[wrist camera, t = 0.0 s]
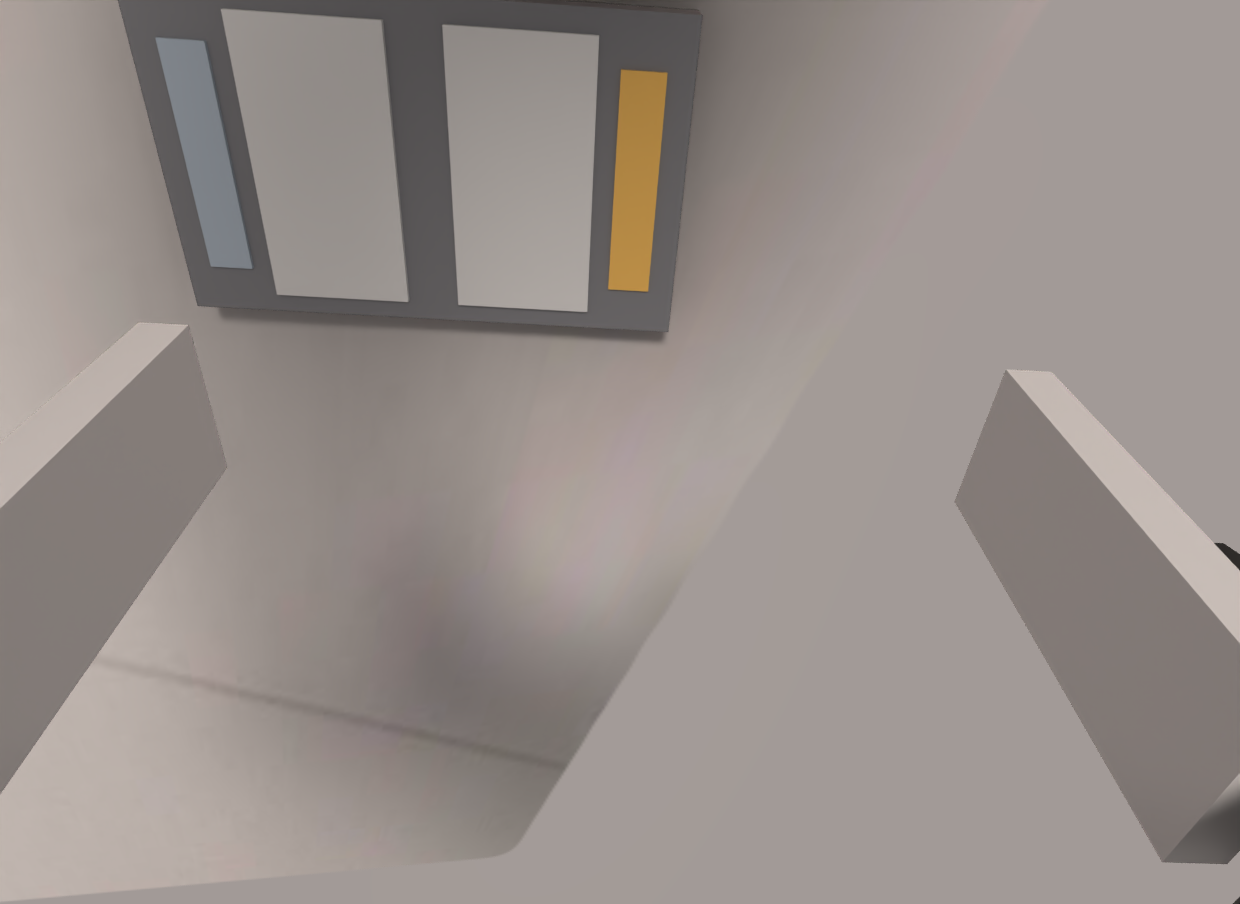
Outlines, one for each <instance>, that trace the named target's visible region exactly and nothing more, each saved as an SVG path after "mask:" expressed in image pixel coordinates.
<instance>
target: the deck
mask: <svg viewBox="0 0 1240 904" xmlns="http://www.w3.org/2000/svg"><path fill="white" fill-rule="evenodd" d="M118 2H119V6H120V10H121V14H122V18H123V21H124V25H125V29H126V33H127V37H128V41H129V44H130V48H131V52H132V56H133V60H134V64H135V67H136V71H137V75H138V79H139V83H140V87H141V90H142V94H143V98H144V102H145V106H146V110H147V113H148V117H149V121H150V125H151V129H152V133H153V136H154V140H155V144H156V148H157V152H158V156H159V159H160V163H161V167H162V171H163V175H164V179H165V182H166V186H167V190H168V194H169V198H170V202H171V205H172V209H173V213H174V217H175V221H176V225H177V228H178V232H179V236H180V240H181V244H182V248H183V251H184V255H185V259H186V263H187V267H188V271H189V274H190V278H191V282H192V286H193V290H194V294H195V297H196V301H197V305H198V306H208V307H226V308H244V309H262V310H280V311H298V312H316V313H334V314H352V315H370V316H388V317H406V318H424V319H442V320H461V321H479V322H497V323H515V324H533V325H551V326H569V327H587V328H605V329H623V330H641V331H659V332H668V329H669V320H670V311H671V302H672V293H673V283H674V274H675V265H676V256H677V247H678V237H679V228H680V219H681V210H682V200H683V191H684V182H685V173H686V164H687V154H688V145H689V136H690V127H691V117H692V108H693V99H694V90H695V81H696V71H697V62H698V53H699V44H700V34H701V25H702V16H703V15H702V14H701V13H700V11H699V10H690V9H677V8H663V7H649V6H635V5H621V4H608V3H594V2H580V1H566V0H118Z"/></svg>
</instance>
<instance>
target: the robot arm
mask: <svg viewBox="0 0 1240 904" xmlns="http://www.w3.org/2000/svg"><path fill="white" fill-rule="evenodd" d="M226 468H227V464H226V461H225V457H224V453H223V450H222V446H221V442H220V439H219V435H218V431H217V428H216V424H215V420H214V417H213V413H212V409H211V405H210V402H209V398H208V394H207V391H206V387H205V383H204V380H203V376H202V372H201V369H200V365H199V361H198V358H197V354H196V350H195V347H194V343H193V339H192V336H191V332H190V328H189V325H179V324H160V323H142V322H138V323H137V324H136V325H135V326H134V327H133V328H132V329H130V330H129V331H128V332H127V333H126V334H125V335H123V336H122V337H121V338H120V339H119V340H118V341H117V342H115V343H114V344H113V345H112V346H111V347H110V348H108V349H107V350H106V351H105V352H104V353H103V354H102V355H100V356H99V357H98V358H97V359H96V360H95V361H93V362H92V363H91V364H90V365H89V366H88V367H87V368H85V369H84V370H83V371H82V372H81V373H80V374H78V375H77V376H76V377H75V378H74V379H73V380H72V381H70V382H69V383H68V384H67V385H66V386H65V387H63V388H62V389H61V390H60V391H59V392H58V393H57V394H55V395H54V396H53V397H52V398H51V399H50V400H48V401H47V402H46V403H45V404H44V405H43V406H42V407H40V408H39V409H38V410H37V411H36V412H35V413H33V414H32V415H31V416H30V417H29V418H28V419H26V420H25V421H24V422H23V423H22V424H21V425H20V426H18V427H17V428H16V429H15V430H14V431H13V432H11V433H10V434H9V435H8V436H7V437H6V438H5V439H3V440H2V441H1V442H0V794H1V792H2V791H3V790H4V788H5V787H6V785H7V784H8V782H9V781H10V779H11V778H12V777H13V775H14V774H15V772H16V771H17V769H18V768H19V766H20V765H21V764H22V762H23V761H24V759H25V758H26V756H27V755H28V754H29V752H30V751H31V749H32V748H33V746H34V745H35V743H36V742H37V741H38V739H39V738H40V736H41V735H42V733H43V732H44V730H45V729H46V728H47V726H48V725H49V723H50V722H51V720H52V719H53V718H54V716H55V715H56V713H57V712H58V710H59V709H60V707H61V706H62V705H63V703H64V702H65V700H66V699H67V697H68V696H69V695H70V693H71V692H72V690H73V689H74V687H75V686H76V684H77V683H78V682H79V680H80V679H81V677H82V676H83V674H84V673H85V671H86V670H87V669H88V667H89V666H90V664H91V663H92V661H93V660H94V659H95V657H96V656H97V654H98V653H99V651H100V650H101V648H102V647H103V646H104V644H105V643H106V641H107V640H108V638H109V637H110V635H111V634H112V633H113V631H114V630H115V628H116V627H117V625H118V624H119V623H120V621H121V620H122V618H123V617H124V615H125V614H126V612H127V611H128V610H129V608H130V607H131V605H132V604H133V602H134V601H135V599H136V598H137V597H138V595H139V594H140V592H141V591H142V589H143V588H144V587H145V585H146V584H147V582H148V581H149V579H150V578H151V576H152V575H153V574H154V572H155V571H156V569H157V568H158V566H159V565H160V563H161V562H162V561H163V559H164V558H165V556H166V555H167V553H168V552H169V551H170V549H171V548H172V546H173V545H174V543H175V542H176V540H177V539H178V538H179V536H180V535H181V533H182V532H183V530H184V529H185V528H186V526H187V525H188V523H189V522H190V520H191V519H192V517H193V516H194V515H195V513H196V512H197V510H198V509H199V507H200V506H201V504H202V503H203V502H204V500H205V499H206V497H207V496H208V494H209V493H210V492H211V490H212V489H213V487H214V486H215V484H216V483H217V481H218V480H219V479H220V477H221V476H222V474H223V473H224V471H225V470H226ZM955 503H956V505H957V507H958V508H959V510H960V512H961V514H962V515H963V517H964V519H965V521H966V522H967V524H968V526H969V527H970V529H971V531H972V533H973V535H974V536H975V538H976V540H977V541H978V543H979V545H980V547H981V548H982V550H983V552H984V554H985V555H986V557H987V559H988V560H989V562H990V564H991V566H992V568H993V569H994V571H995V573H996V575H997V576H998V578H999V580H1000V581H1001V583H1002V585H1003V587H1004V588H1005V590H1006V592H1007V593H1008V595H1009V597H1010V598H1011V600H1012V602H1013V604H1014V606H1015V607H1016V609H1017V611H1018V613H1019V614H1020V616H1021V618H1022V620H1023V621H1024V623H1025V625H1026V626H1027V628H1028V630H1029V632H1030V633H1031V635H1032V637H1033V639H1034V640H1035V642H1036V644H1037V646H1038V647H1039V649H1040V651H1041V653H1042V654H1043V656H1044V658H1045V659H1046V661H1047V663H1048V665H1049V666H1050V668H1051V670H1052V672H1053V673H1054V675H1055V677H1056V679H1057V680H1058V682H1059V684H1060V685H1061V687H1062V689H1063V691H1064V693H1065V694H1066V696H1067V698H1068V699H1069V701H1070V703H1071V705H1072V706H1073V708H1074V710H1075V712H1076V713H1077V715H1078V717H1079V719H1080V720H1081V722H1082V724H1083V725H1084V727H1085V729H1086V731H1087V732H1088V734H1089V736H1090V738H1091V739H1092V741H1093V743H1094V745H1095V746H1096V748H1097V750H1098V752H1099V753H1100V755H1101V757H1102V759H1103V760H1104V762H1105V764H1106V765H1107V767H1108V769H1109V771H1110V772H1111V774H1112V776H1113V777H1114V779H1115V781H1116V783H1117V785H1118V786H1119V788H1120V790H1121V791H1122V793H1123V795H1124V797H1125V798H1126V800H1127V802H1128V804H1129V805H1130V807H1131V809H1132V810H1133V812H1134V814H1135V816H1136V818H1137V819H1138V821H1139V823H1140V824H1141V826H1142V828H1143V830H1144V831H1145V833H1146V835H1147V837H1148V838H1149V840H1150V842H1151V843H1152V845H1153V847H1154V849H1155V850H1156V852H1157V854H1158V856H1159V857H1160V859H1161V861H1162V862H1174V863H1210V864H1228V862H1229V861H1230V860H1231V859H1232V858H1233V857H1234V856H1235V855H1236V854H1237V853H1238V852H1239V851H1240V554H1238V553H1237V552H1236V551H1234V550H1233V549H1231V548H1230V547H1228V546H1227V545H1225V544H1223V543H1213V542H1212V541H1211V540H1210V539H1209V538H1208V537H1207V536H1206V535H1205V533H1204V532H1203V531H1202V530H1201V529H1200V528H1199V527H1198V526H1197V525H1196V524H1195V523H1194V522H1193V521H1192V520H1191V519H1190V518H1189V517H1188V516H1187V514H1186V513H1185V512H1184V511H1183V510H1182V509H1181V508H1180V507H1179V506H1178V505H1177V504H1176V503H1175V502H1174V501H1173V500H1172V499H1171V498H1170V496H1169V495H1168V494H1167V493H1166V492H1165V491H1164V490H1163V489H1162V488H1161V487H1160V486H1159V485H1158V484H1157V483H1156V482H1155V481H1154V480H1153V479H1152V477H1150V475H1148V473H1147V472H1146V471H1145V470H1144V469H1143V468H1142V467H1141V466H1140V465H1139V464H1138V463H1137V462H1136V461H1135V460H1134V458H1133V457H1132V456H1131V455H1130V454H1129V453H1128V452H1127V451H1126V450H1125V449H1124V448H1123V447H1122V446H1121V445H1120V444H1119V443H1118V442H1117V441H1116V440H1115V439H1114V437H1113V436H1112V435H1111V434H1110V433H1109V432H1108V431H1107V430H1106V429H1105V428H1104V427H1103V426H1102V425H1101V424H1100V423H1099V422H1098V421H1097V420H1096V418H1095V417H1094V416H1093V415H1092V414H1091V413H1090V412H1089V411H1088V410H1087V409H1086V408H1085V407H1084V406H1083V405H1082V404H1081V403H1080V402H1079V400H1077V399H1076V397H1075V396H1073V394H1072V393H1071V392H1070V391H1069V390H1068V389H1067V388H1066V387H1065V386H1064V385H1063V384H1062V383H1061V382H1060V380H1059V379H1058V378H1057V377H1056V376H1055V375H1054V374H1053V373H1052V372H1043V371H1023V370H1005V373H1004V376H1003V378H1002V381H1001V384H1000V386H999V389H998V391H997V394H996V396H995V399H994V401H993V404H992V407H991V409H990V412H989V414H988V417H987V419H986V422H985V424H984V427H983V430H982V432H981V435H980V437H979V440H978V443H977V445H976V448H975V450H974V453H973V455H972V458H971V461H970V463H969V466H968V468H967V471H966V473H965V476H964V479H963V481H962V484H961V486H960V489H959V492H958V494H957V497H956V499H955ZM1233 904H1240V897H1239V898H1238V899H1237V900H1236V901H1235V902H1234V903H1233Z"/></svg>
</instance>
